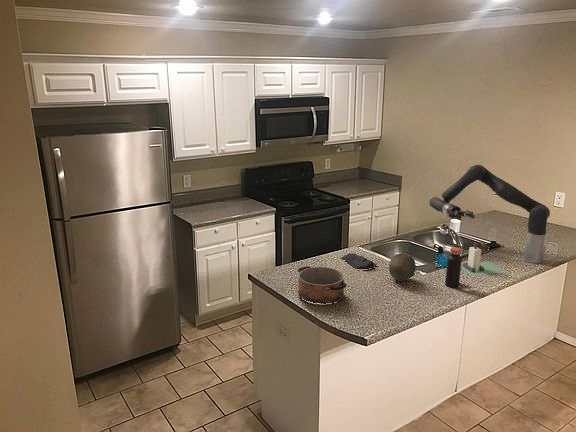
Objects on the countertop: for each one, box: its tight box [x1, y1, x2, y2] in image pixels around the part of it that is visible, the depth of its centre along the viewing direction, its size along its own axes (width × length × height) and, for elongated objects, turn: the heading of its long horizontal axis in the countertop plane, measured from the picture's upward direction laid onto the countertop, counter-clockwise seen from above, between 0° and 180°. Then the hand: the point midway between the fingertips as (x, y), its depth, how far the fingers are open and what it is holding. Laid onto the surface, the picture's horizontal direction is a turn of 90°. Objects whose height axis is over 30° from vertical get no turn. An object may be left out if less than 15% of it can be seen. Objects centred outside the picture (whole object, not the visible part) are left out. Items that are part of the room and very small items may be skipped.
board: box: [461, 261, 508, 276], centre depth 254 cm, size 22×16×1 cm
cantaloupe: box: [388, 252, 417, 282], centre depth 239 cm, size 14×14×15 cm
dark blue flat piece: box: [340, 253, 378, 269], centre depth 264 cm, size 15×22×5 cm
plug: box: [467, 242, 482, 271], centre depth 251 cm, size 4×6×15 cm, turn 12°
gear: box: [435, 252, 449, 269], centre depth 258 cm, size 11×6×10 cm
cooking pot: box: [297, 265, 347, 304], centre depth 223 cm, size 30×22×11 cm
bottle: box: [444, 246, 463, 289], centre depth 232 cm, size 7×7×20 cm
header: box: [462, 262, 484, 272], centre depth 254 cm, size 8×11×2 cm
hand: (467, 217), depth 264 cm, fingers open, 8 cm apart
